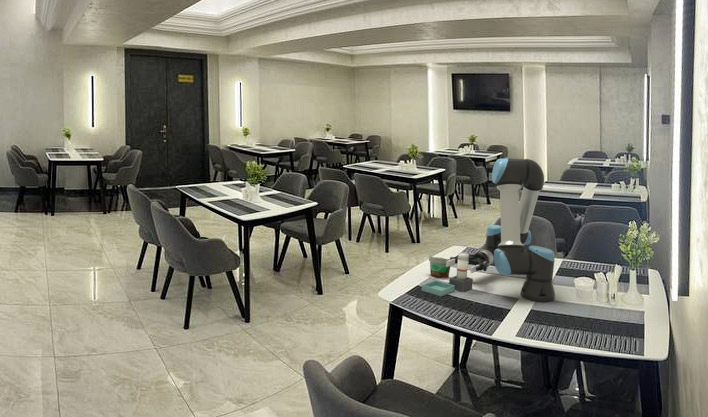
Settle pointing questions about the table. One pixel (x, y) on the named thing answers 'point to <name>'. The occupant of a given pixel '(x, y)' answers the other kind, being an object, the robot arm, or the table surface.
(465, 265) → the fuse
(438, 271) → the food container
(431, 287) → the parts tray
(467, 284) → the socket block
